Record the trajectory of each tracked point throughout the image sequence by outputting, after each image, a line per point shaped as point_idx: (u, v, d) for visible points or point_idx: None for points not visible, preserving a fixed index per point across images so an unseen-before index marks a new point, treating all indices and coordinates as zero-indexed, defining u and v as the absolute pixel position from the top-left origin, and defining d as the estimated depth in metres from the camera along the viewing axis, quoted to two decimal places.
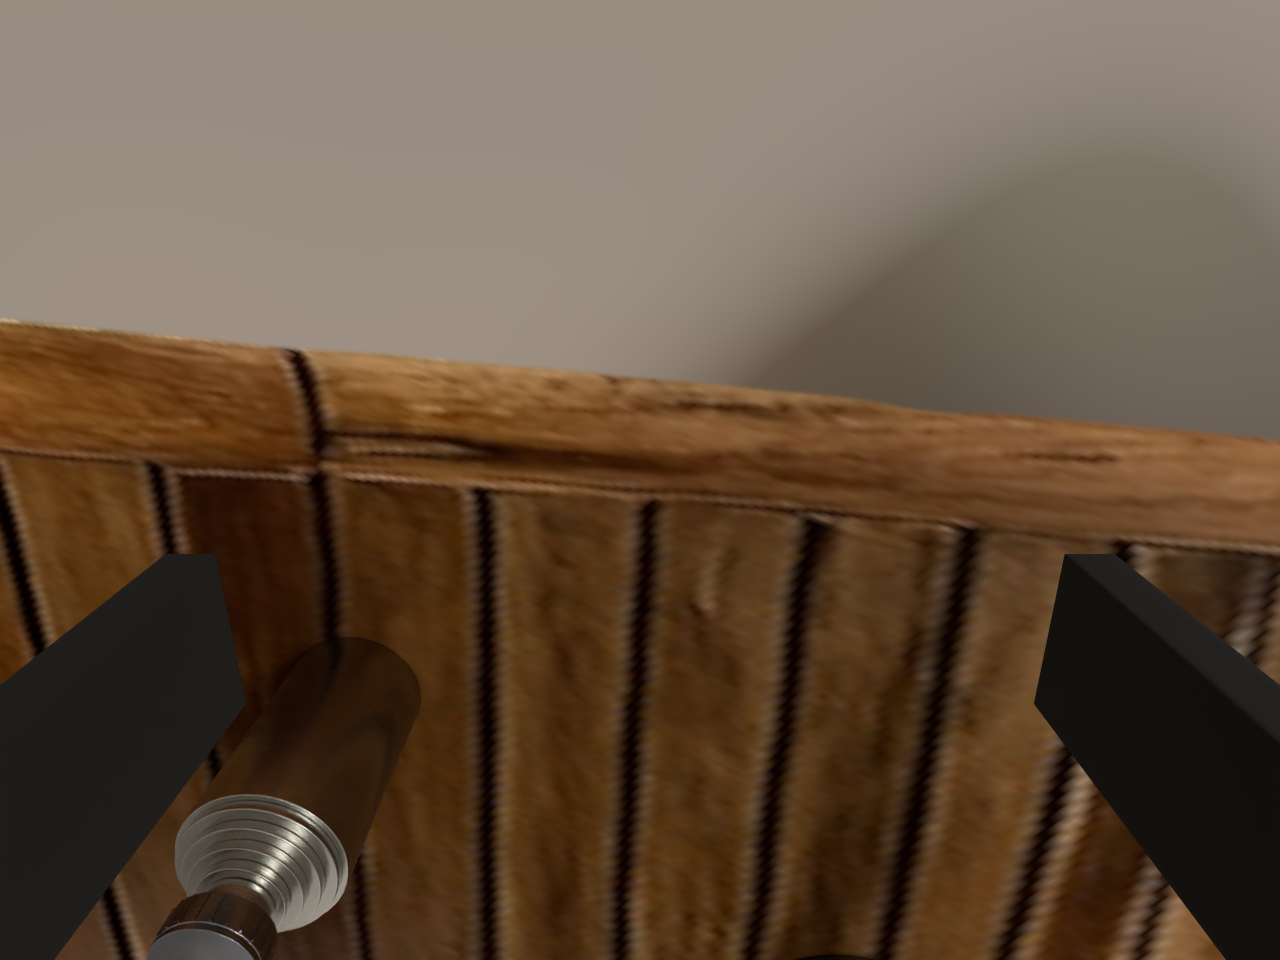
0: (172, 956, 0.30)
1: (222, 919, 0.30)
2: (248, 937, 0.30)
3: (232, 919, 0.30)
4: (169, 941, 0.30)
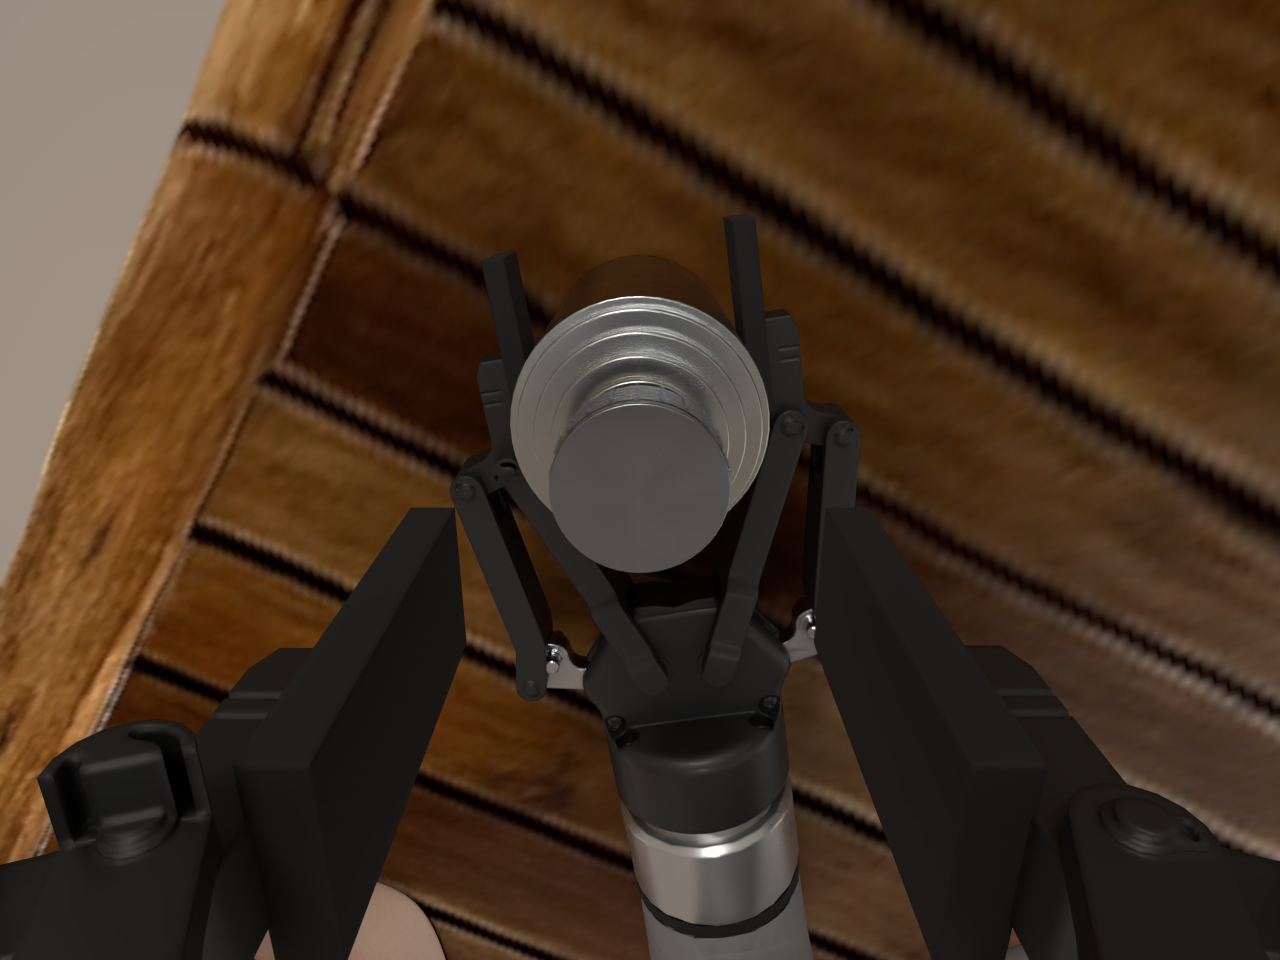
0: (591, 513, 0.18)
1: (581, 417, 0.18)
2: (629, 399, 0.18)
3: (592, 408, 0.18)
4: (563, 499, 0.18)
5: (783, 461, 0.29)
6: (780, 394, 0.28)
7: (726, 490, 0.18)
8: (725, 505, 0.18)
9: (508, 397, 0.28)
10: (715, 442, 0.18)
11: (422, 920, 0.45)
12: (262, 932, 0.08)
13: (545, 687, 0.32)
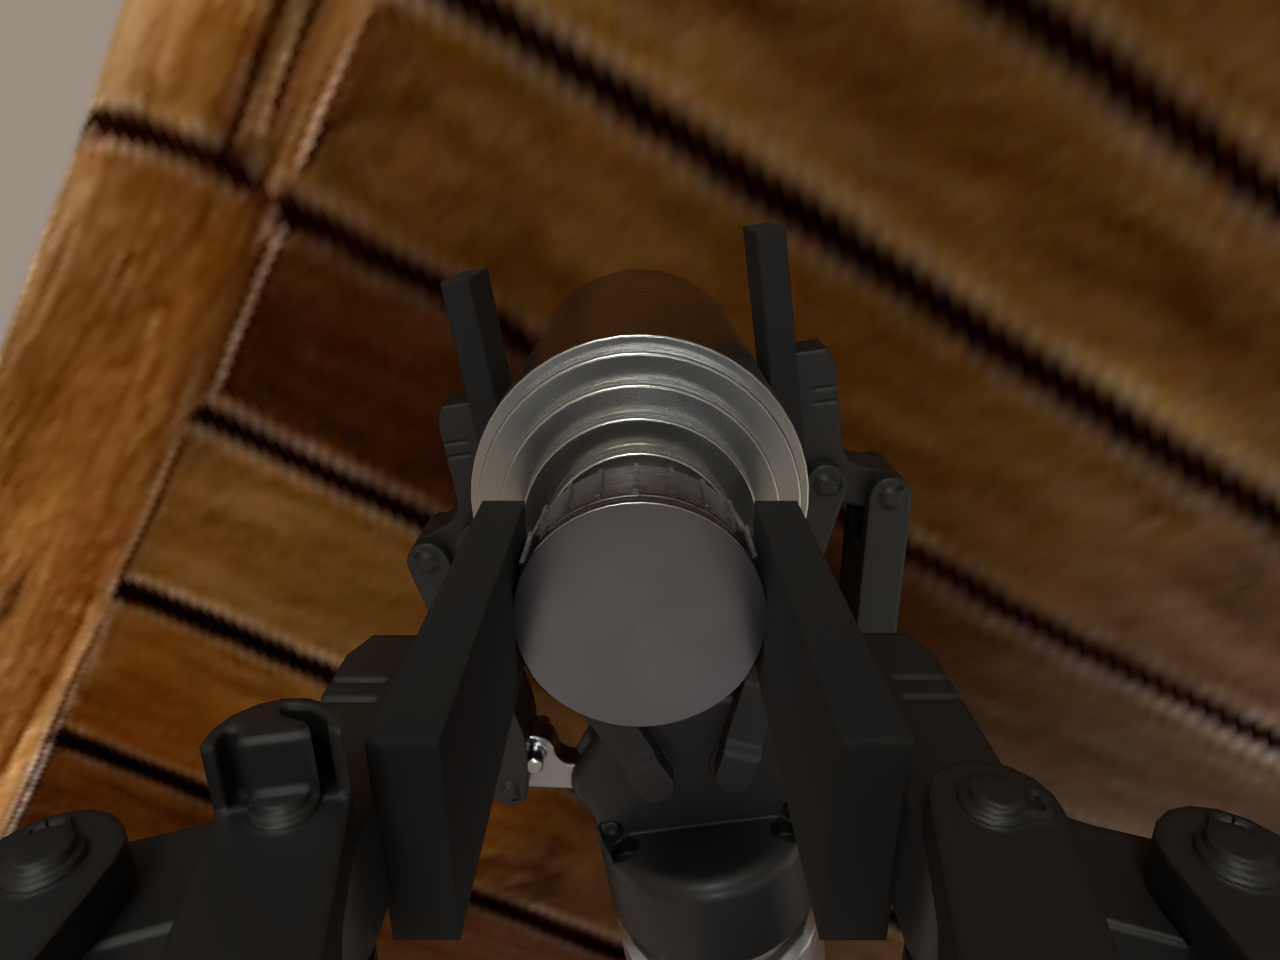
0: (572, 649, 0.13)
1: (556, 516, 0.13)
2: (624, 492, 0.13)
3: (573, 502, 0.13)
4: (532, 630, 0.13)
5: (816, 525, 0.23)
6: (813, 444, 0.23)
7: (761, 618, 0.13)
8: (760, 639, 0.13)
9: None
10: (747, 554, 0.13)
11: None
12: (385, 905, 0.09)
13: (526, 789, 0.27)
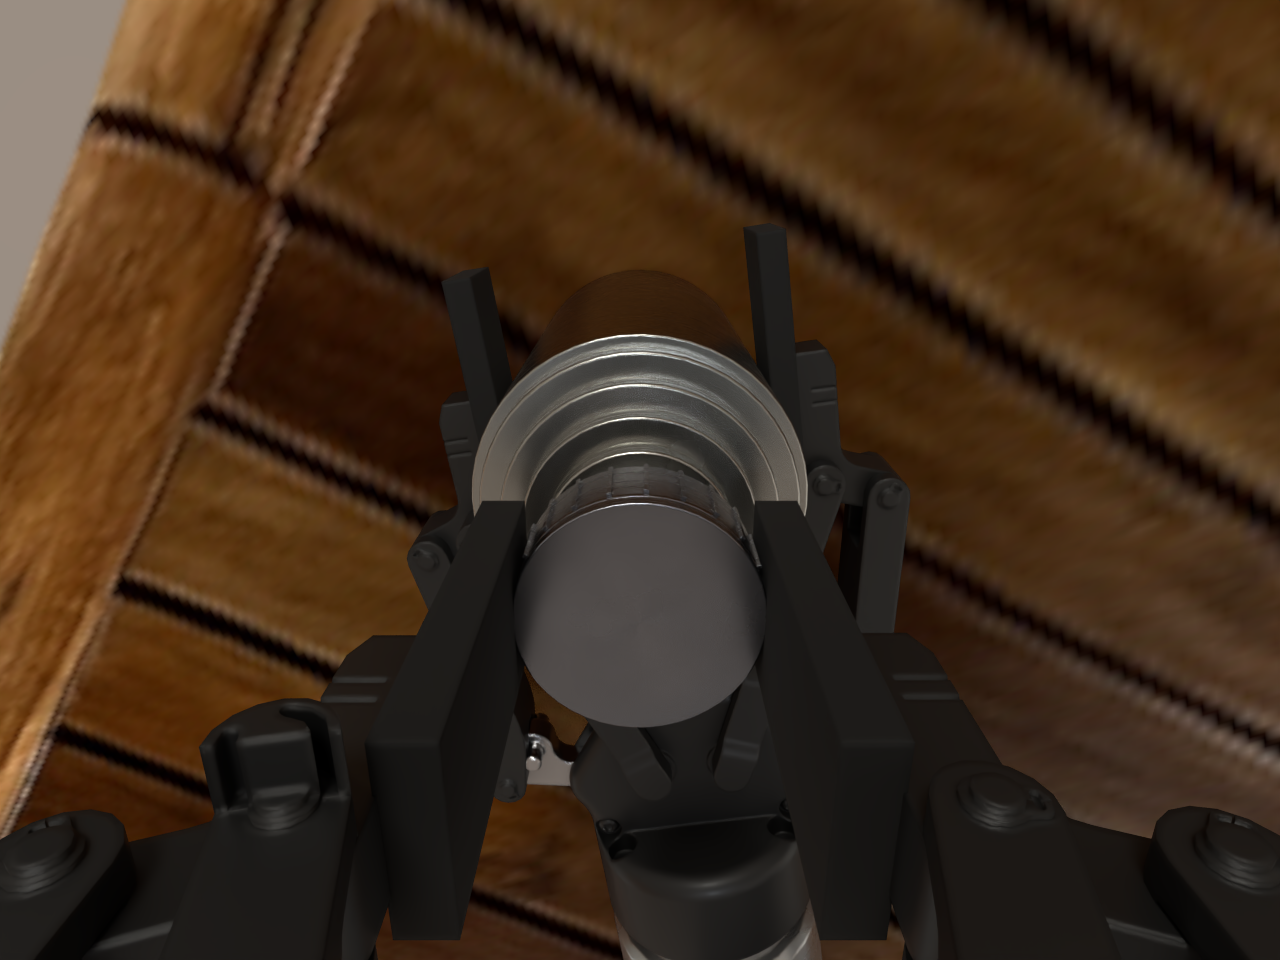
0: (692, 667, 0.13)
1: None
2: None
3: None
4: (684, 703, 0.14)
5: (815, 526, 0.23)
6: (812, 445, 0.23)
7: (595, 515, 0.12)
8: (617, 509, 0.12)
9: None
10: (533, 553, 0.13)
11: None
12: (385, 906, 0.09)
13: (524, 786, 0.27)
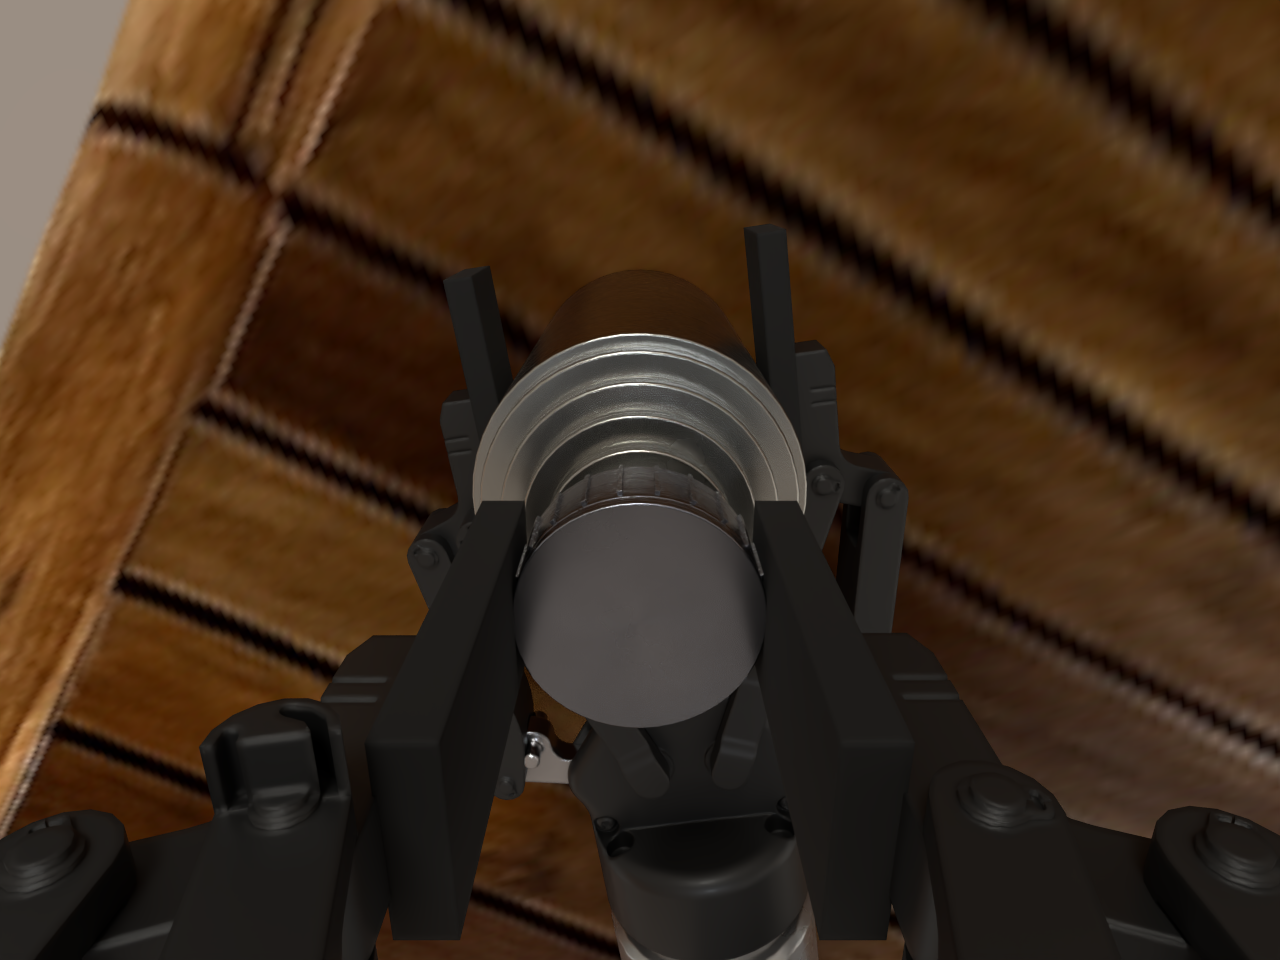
0: (672, 560, 0.13)
1: None
2: None
3: None
4: (718, 552, 0.13)
5: (813, 525, 0.23)
6: (811, 444, 0.23)
7: (549, 687, 0.13)
8: (535, 674, 0.13)
9: (478, 445, 0.23)
10: (606, 722, 0.14)
11: None
12: (385, 906, 0.09)
13: (523, 784, 0.27)
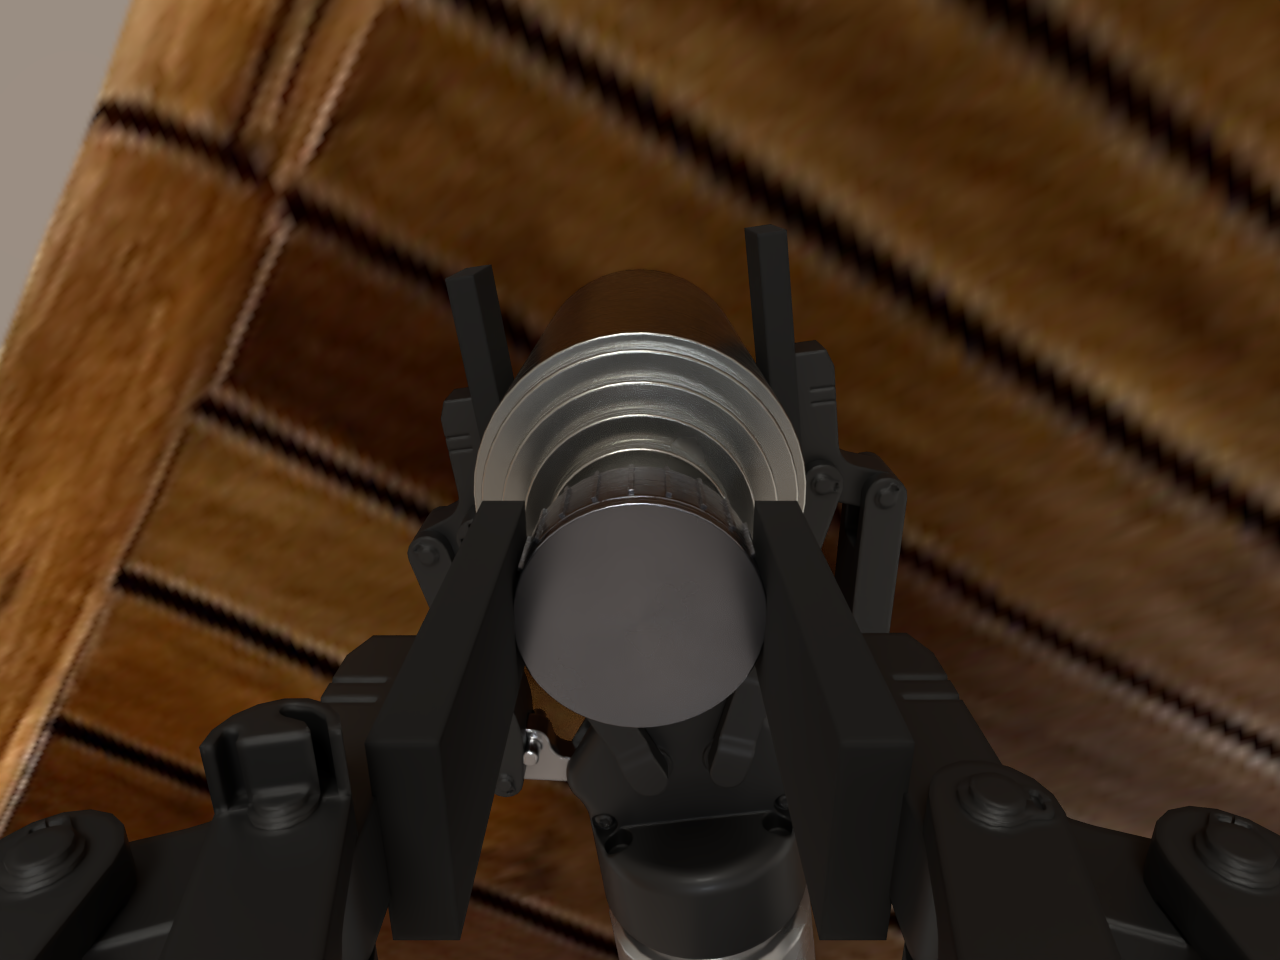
0: (563, 616, 0.13)
1: (619, 491, 0.13)
2: (693, 502, 0.13)
3: (639, 486, 0.13)
4: (539, 580, 0.13)
5: (812, 524, 0.24)
6: (810, 444, 0.23)
7: (742, 673, 0.13)
8: (730, 689, 0.13)
9: (479, 443, 0.23)
10: None
11: None
12: (385, 905, 0.09)
13: (522, 781, 0.27)
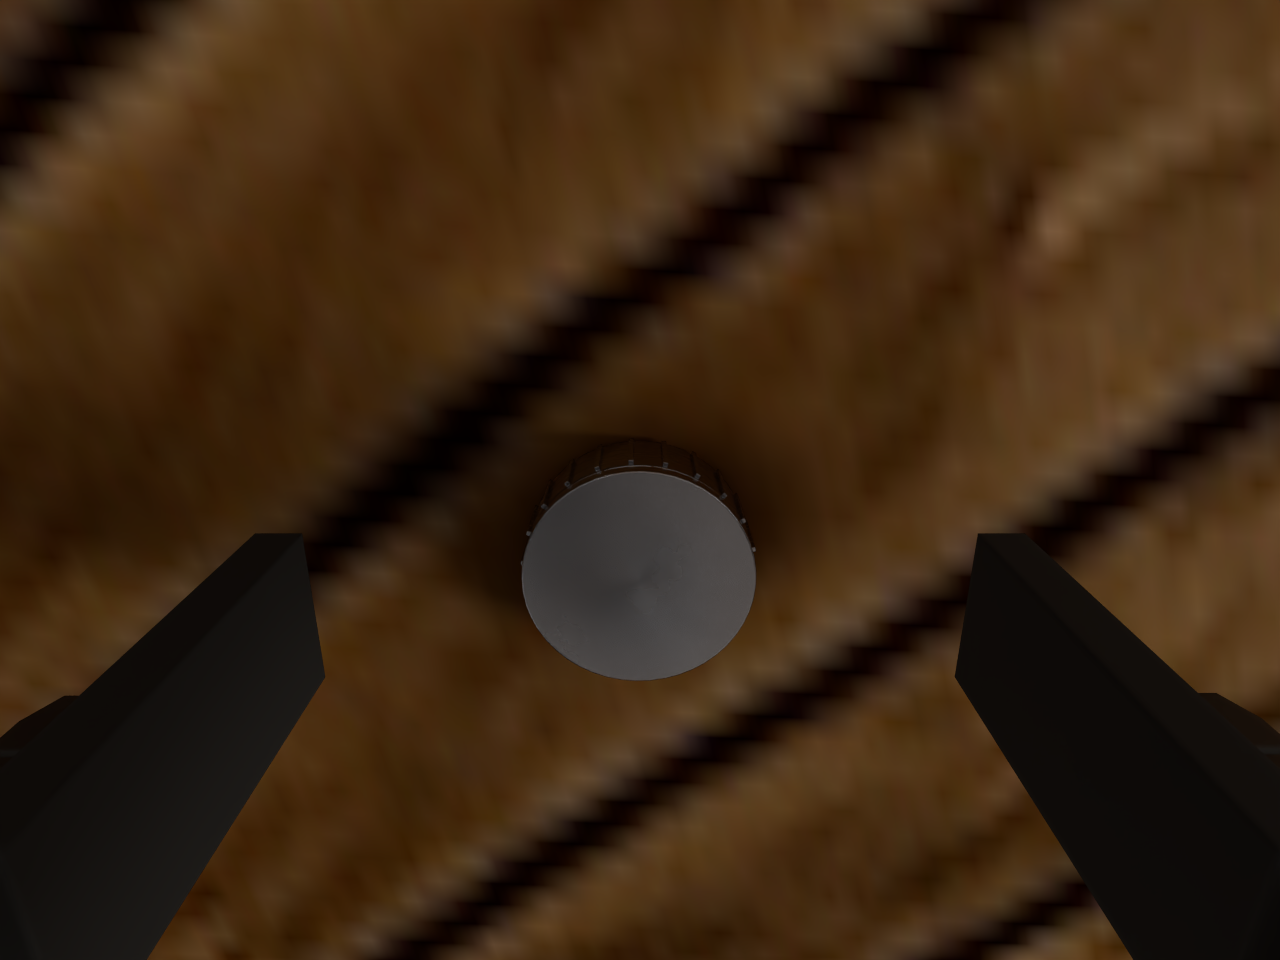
0: (569, 576, 0.14)
1: (619, 461, 0.14)
2: (687, 472, 0.14)
3: (638, 457, 0.14)
4: (547, 543, 0.14)
5: None
6: None
7: (733, 629, 0.15)
8: (721, 645, 0.15)
9: None
10: (754, 573, 0.14)
11: None
12: None
13: None
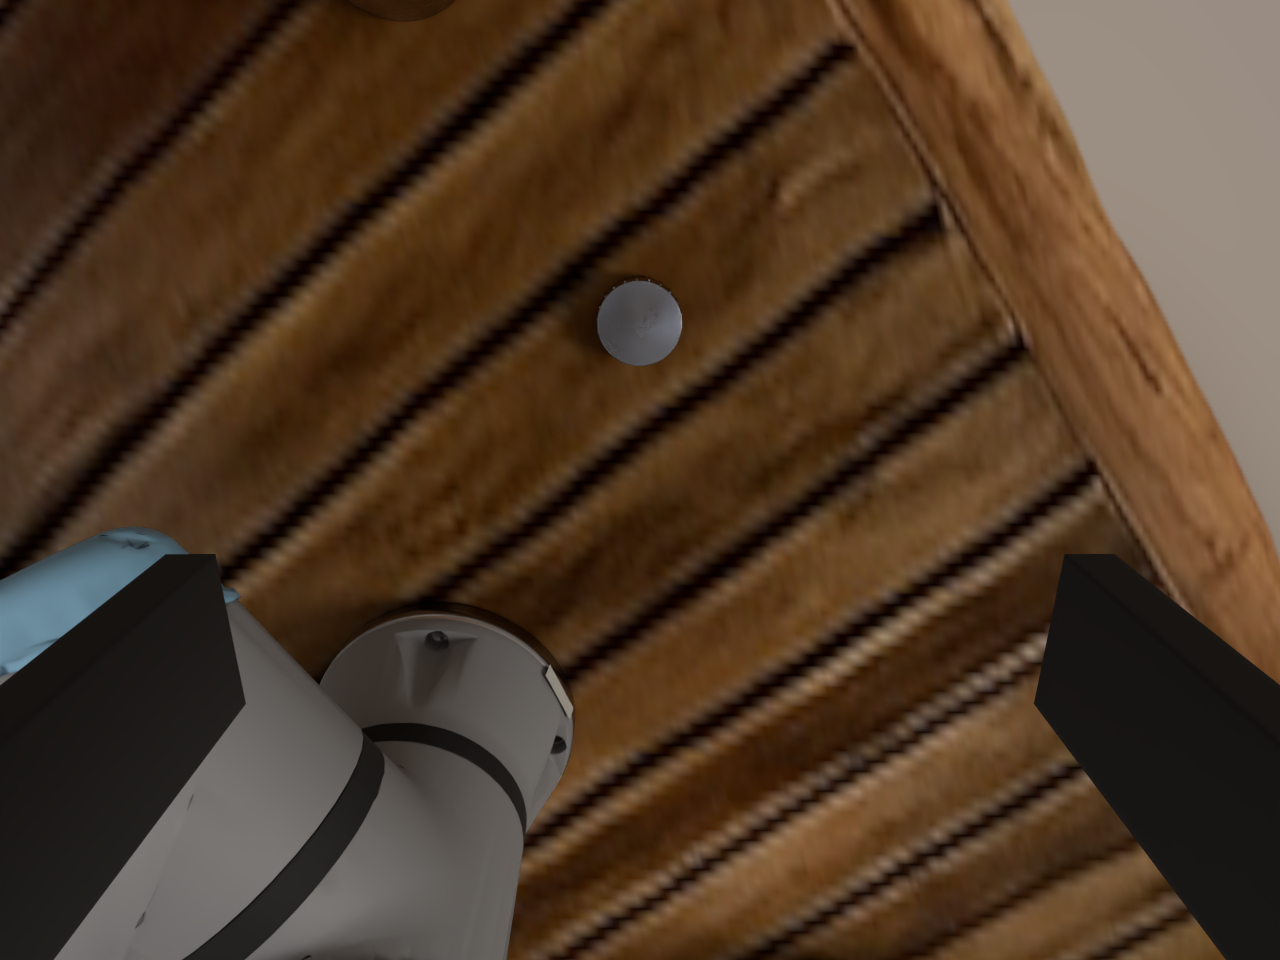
0: (614, 322, 0.39)
1: (632, 279, 0.39)
2: (657, 283, 0.39)
3: (639, 279, 0.39)
4: (606, 308, 0.39)
5: None
6: None
7: (674, 344, 0.40)
8: (670, 350, 0.40)
9: None
10: (681, 321, 0.39)
11: None
12: None
13: None
